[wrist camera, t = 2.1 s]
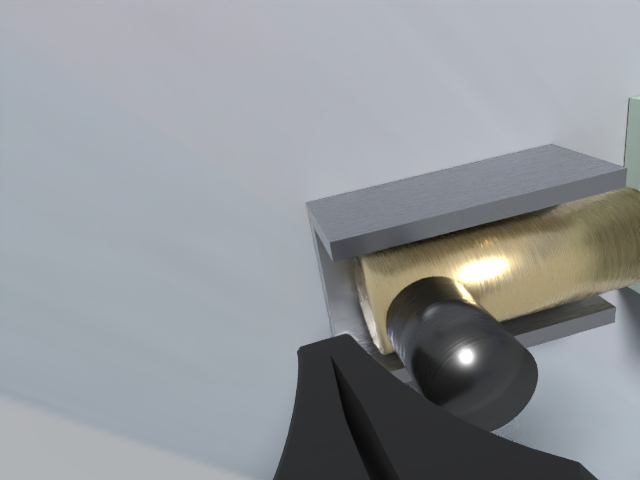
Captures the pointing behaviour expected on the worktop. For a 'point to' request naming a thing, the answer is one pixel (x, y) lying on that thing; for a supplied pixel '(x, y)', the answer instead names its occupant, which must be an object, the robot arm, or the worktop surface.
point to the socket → (633, 152)
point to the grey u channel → (451, 215)
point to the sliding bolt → (493, 297)
